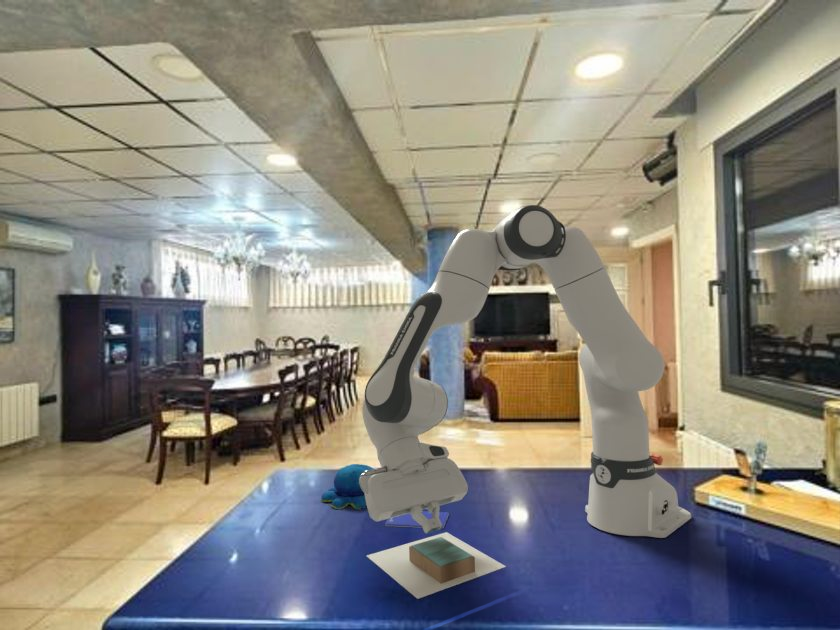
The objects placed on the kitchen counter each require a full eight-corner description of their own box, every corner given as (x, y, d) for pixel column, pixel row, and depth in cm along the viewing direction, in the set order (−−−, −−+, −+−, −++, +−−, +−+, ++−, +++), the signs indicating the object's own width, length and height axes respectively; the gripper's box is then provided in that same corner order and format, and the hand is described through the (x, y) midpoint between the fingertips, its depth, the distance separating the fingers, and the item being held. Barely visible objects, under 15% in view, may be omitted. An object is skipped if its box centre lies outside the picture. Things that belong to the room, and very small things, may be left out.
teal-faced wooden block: (441, 535, 96) (474, 555, 87) (441, 550, 96) (475, 571, 87) (409, 545, 92) (440, 567, 84) (409, 560, 92) (440, 583, 84)
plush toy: (313, 510, 120) (312, 475, 121) (332, 487, 137) (331, 456, 137) (384, 510, 119) (383, 474, 119) (394, 487, 136) (393, 455, 136)
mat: (446, 534, 104) (446, 532, 104) (506, 568, 89) (506, 566, 89) (366, 557, 95) (366, 555, 95) (417, 601, 79) (417, 598, 79)
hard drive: (385, 523, 108) (443, 526, 106) (394, 508, 116) (449, 511, 114) (385, 530, 108) (443, 533, 106) (394, 515, 116) (449, 518, 114)
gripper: (360, 463, 93) (388, 536, 84) (453, 446, 103) (485, 509, 95) (351, 481, 96) (376, 553, 88) (441, 463, 107) (471, 525, 99)
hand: (434, 530), depth 91 cm, fingers closed
